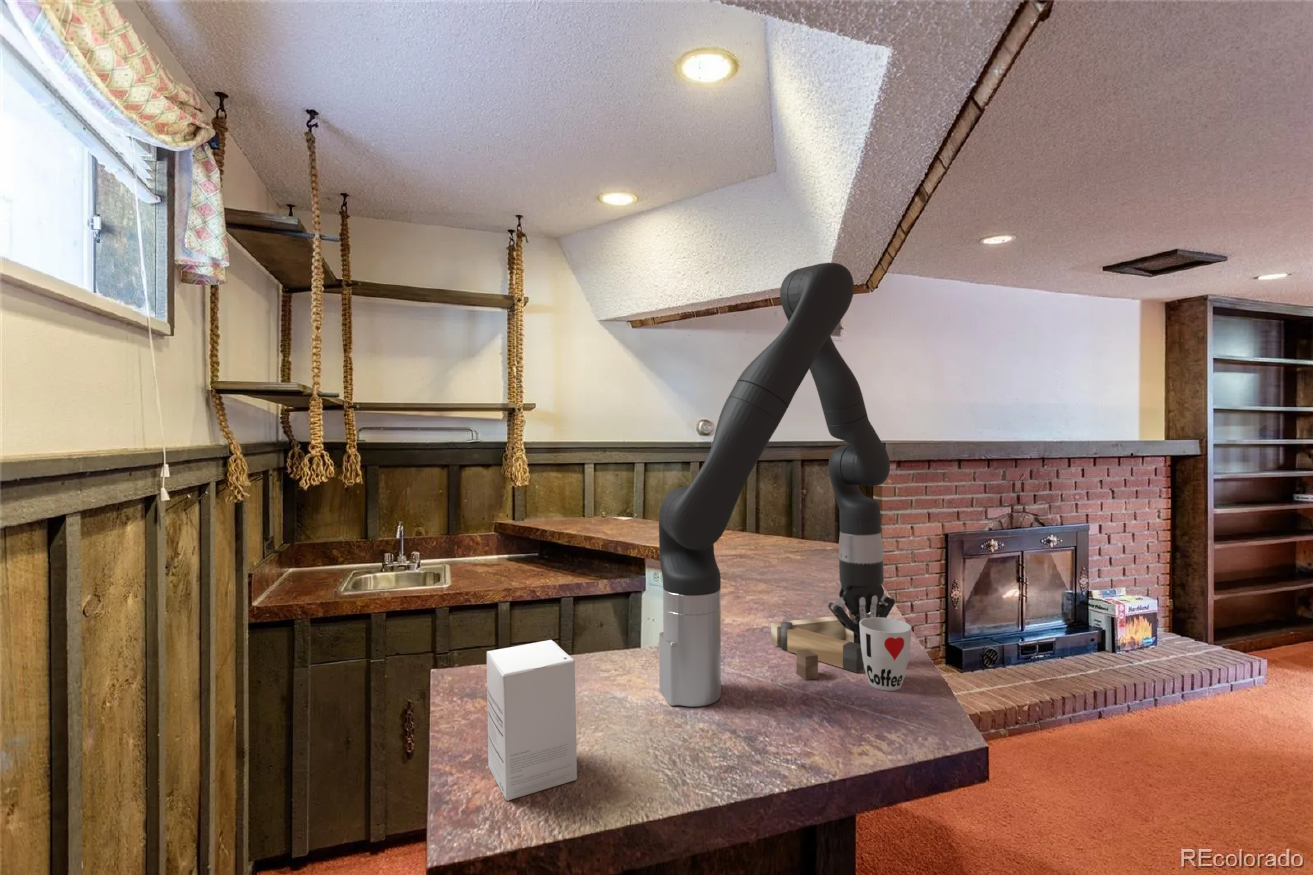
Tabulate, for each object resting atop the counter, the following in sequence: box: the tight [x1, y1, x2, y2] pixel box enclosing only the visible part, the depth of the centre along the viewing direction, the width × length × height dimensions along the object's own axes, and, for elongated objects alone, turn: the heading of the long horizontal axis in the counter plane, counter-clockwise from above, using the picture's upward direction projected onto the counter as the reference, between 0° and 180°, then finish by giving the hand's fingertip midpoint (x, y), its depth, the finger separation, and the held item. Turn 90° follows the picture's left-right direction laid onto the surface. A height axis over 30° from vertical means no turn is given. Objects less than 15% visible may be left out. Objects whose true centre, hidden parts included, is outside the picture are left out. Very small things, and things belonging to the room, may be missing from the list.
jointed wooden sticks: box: [770, 613, 854, 681], centre depth 117 cm, size 21×18×4 cm
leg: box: [780, 621, 865, 673], centre depth 115 cm, size 3×16×5 cm, turn 44°
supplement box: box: [486, 639, 578, 801], centre depth 78 cm, size 9×9×15 cm
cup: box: [859, 616, 912, 692], centre depth 104 cm, size 8×8×10 cm
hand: (863, 652), depth 113 cm, fingers closed
